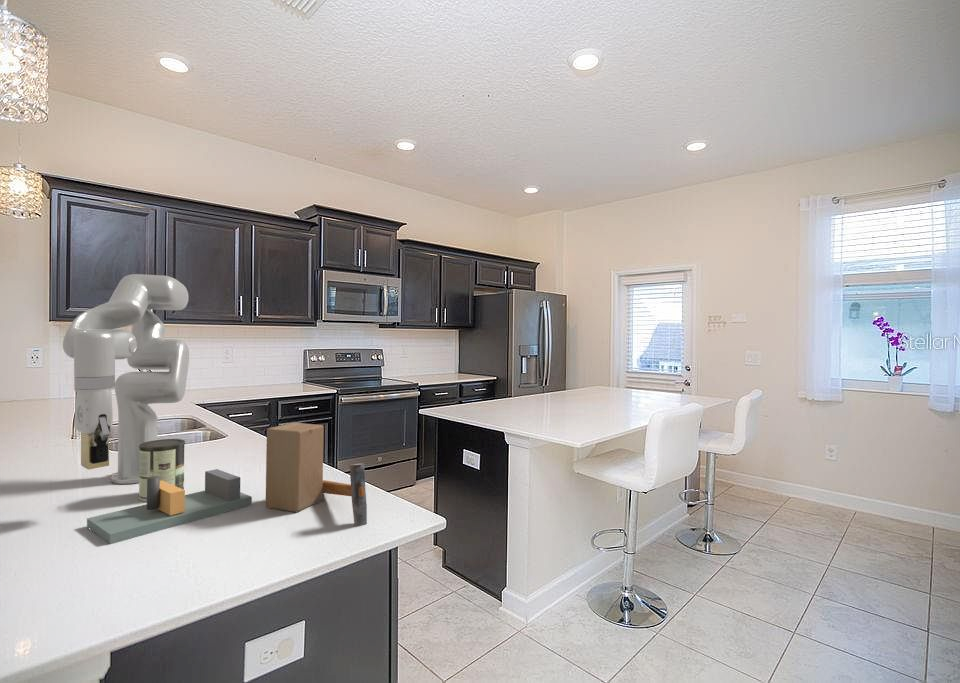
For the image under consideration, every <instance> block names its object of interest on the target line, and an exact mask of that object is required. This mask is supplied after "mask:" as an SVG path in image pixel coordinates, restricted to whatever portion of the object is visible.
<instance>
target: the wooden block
mask: <svg viewBox="0 0 960 683" xmlns="http://www.w3.org/2000/svg"><path fill="white" fill-rule="evenodd" d="M324 428H325V427H324V425H321V424H313V423H303V422H291V423H285V424H281V425H277V426H273V427H269V428H267V429H266V451H265V453H266V455H265V457H266V458H265V459H266V462H265V467H266V468H265V508H269V509H276V510H281V511H288V512H293V513H299V512H301V511H303V510H305V509H307V508H309V507H311V506H313V505H315V504H317V503H319V502H321V501H322V500H323V493H322V491H323V480H324V436H325V435H324Z"/></svg>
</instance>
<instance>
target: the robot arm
mask: <svg viewBox="0 0 960 683" xmlns="http://www.w3.org/2000/svg"><path fill="white" fill-rule="evenodd" d="M189 297H190V296H189V292H188V290H187V288H186V286H185V285H184V284H183V283H181V282H180V281H179V280H178V279H176V278H174V277H171V276H169V275H162V274H161V275H160V274H159V275H157V274H141V273H135V274H134V273H132V274H128V275H125V276H124V277H122V278H121V279H120V280H119V283H118V284H117V286H116V288H115V289H114V291H113V293H112V295H111V296H110V299H109V300H108V302H104V303H102V304H99V305H97V306H95V307H92V308H90V309H88V310H86V311H84V312H82V313H80V314H79V315H77V316H76V317H75V318H74V319H73V321H72V322H71V323H70V325H69V326H68V329H67V330H66V332H65V333H64V336H63V340H62V350H63V351H64V354H66V356H67V357H69V358H72V359H73V391H74V392H76V396H75V408H74V429H75V430H77V431H78V432H80V433H81V432H82V433H84V434H87V435H89V434H91V435H92V446H91V463H92V464H95V463H100V462H106V461H108V436H109V437H110V432H111V430H112V429H113V423H114V422H113V414H114V413H113V398H112V390H114V392H115V397H116V398H115V399H116V404H117V412H118V413H117V416H118V418H117V419H118V420H117V421H118V422H117V425H118V428H117V431H118V432H117V442H118V443H117V473H115V474H113V475H111V477H110V482H111V483H113V484H119V485H121V484H122V485H123V484H124V485H126V484H127V485H128V484H129V485H130V484H136V483H137V484H139V445H140V444H142V443H144V442H148V441H154V440H158V423H159V422H158V415H157V414H156V412H155V411H154V409H153V408H151V406H150V405H152V404H173V403H179V402H181V401H182V400H183V398H184V397H185V393H186V387H187V379H188V371H189V363H190V362H189V361H190V351H189V350H190V348H189V347H188V344H187V343H186V341H184V340H181V339H174V338H165V331H166V326H165V324H164V322H163V320H161V319H160V317H158V316H157V315H156V313H154V312H153V311H152V310H156V311H157V310H158V311H182V310H184V309H185V308H186V307H187V305H188V304H189V303H188V302H189ZM129 326H131V331H129V330H125V329H121V328H124V327H125V328H126V327H129ZM125 359H127V360H126V361H127V364H128V366H129V367H131V368H132V369H136V370H141V371H130V372H126V373H123V374H121V375H119V376H118V377H117V378H116V360H125ZM142 370H143V371H142ZM144 370H147V371H144ZM149 370H151V371H149ZM152 370H153V371H152ZM154 370H155V371H154ZM157 370H158V371H157ZM159 370H161V371H159ZM163 370H164V371H163ZM165 370H166V371H165ZM95 430H100V432H96V433H95ZM96 435H100V436H98V437H97V439H96Z"/></svg>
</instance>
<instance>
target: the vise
mask: <svg viewBox="0 0 960 683" xmlns="http://www.w3.org/2000/svg"><path fill="white" fill-rule="evenodd" d="M204 478H205V479H204V490H202V491H201V490H200V491H196V492H193V493H188V494H185V512H182V513H178V514H174V515H168V514H166V513H164V512H162V511H161V510H159V509H154V510H147V503H146V504H142V505H138V506H134V507H130V508H129V507H128V508H124V509H121V510H120V509H119V510H116V511H113V512H108V513H107V512H106V513H103V514H101V515H100V514H99V515H95V516H91V517H86V528H87V527H88V528H87V529H89V528H90V529H91V530H92V532H93V533H94V532H95V533H96V534H95V533H94V534H95V535H97V536H98V535H99V537H100V538H101V539H102V540H104V541H105V542H106V543H108V544H109V545H112V544H115V543H119V542H123V541H127V540H131V539H133V538H137V537H140V536H144V535H147V534H152V533H155V532H157V531H162V530H165V529H166V530H167V529H169V528H172V527H176V526H179V525H183V524H187V523H190V522H194V521H197V520H201V519H205V518H209V517H213V516H216V515H219V514H222V513H225V512H230V511H234V510H236V509H240V508H244V507H247V506H251V505H252V504H253V498H252V497H253V496H251V495H248V494H247V493H244V492H241V477H240V476H237V475H235V474H231V473H229V472H227V471H224V470H220V469H218V468H216V469H212V470H206V471H204ZM90 529H89V530H90ZM91 530H90V531H91Z"/></svg>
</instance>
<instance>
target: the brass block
mask: <svg viewBox="0 0 960 683" xmlns="http://www.w3.org/2000/svg"><path fill="white" fill-rule="evenodd" d="M96 432H100V430H95V433H96ZM98 436H100V435H96V439H97V437H98ZM91 446H92V435H91V434H89V435H87V434H84V433H82V432H80V466H81V467H83V468H84V469H86V470H93V469H94V470H95V469H98V468H103V467H108V466H109V467H110V435H109V436H108V461H106V462H100V463H95V464H92V463H91Z"/></svg>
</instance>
